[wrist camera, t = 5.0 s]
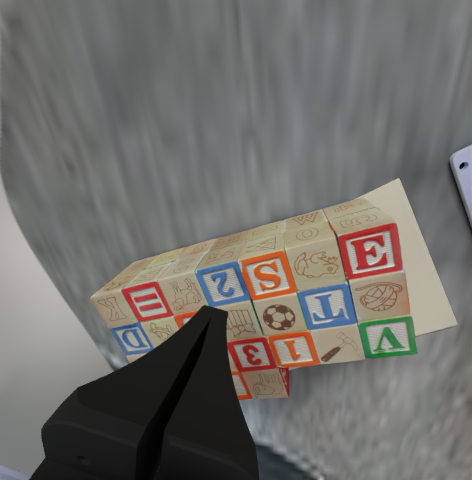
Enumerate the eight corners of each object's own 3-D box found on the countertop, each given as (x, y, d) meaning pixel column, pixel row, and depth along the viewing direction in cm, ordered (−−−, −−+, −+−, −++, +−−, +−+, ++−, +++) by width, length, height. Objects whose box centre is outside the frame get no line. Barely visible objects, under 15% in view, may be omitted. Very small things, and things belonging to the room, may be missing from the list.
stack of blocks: (400, 218, 13) (427, 388, 16) (363, 193, 18) (389, 323, 22) (87, 298, 19) (157, 409, 22) (133, 261, 24) (183, 354, 28)
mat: (456, 323, 21) (457, 324, 21) (211, 390, 30) (210, 391, 29) (398, 178, 18) (399, 178, 17) (141, 301, 26) (140, 302, 26)
